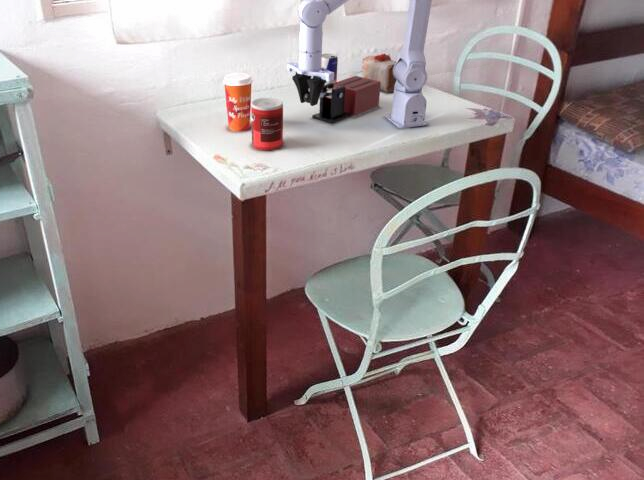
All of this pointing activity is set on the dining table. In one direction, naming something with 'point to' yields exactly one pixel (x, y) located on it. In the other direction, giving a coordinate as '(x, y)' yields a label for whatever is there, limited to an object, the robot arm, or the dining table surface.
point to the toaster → (360, 95)
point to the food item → (380, 71)
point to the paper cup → (238, 100)
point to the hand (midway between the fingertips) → (308, 103)
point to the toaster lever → (322, 94)
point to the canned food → (267, 123)
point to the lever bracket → (332, 106)
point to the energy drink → (330, 65)
